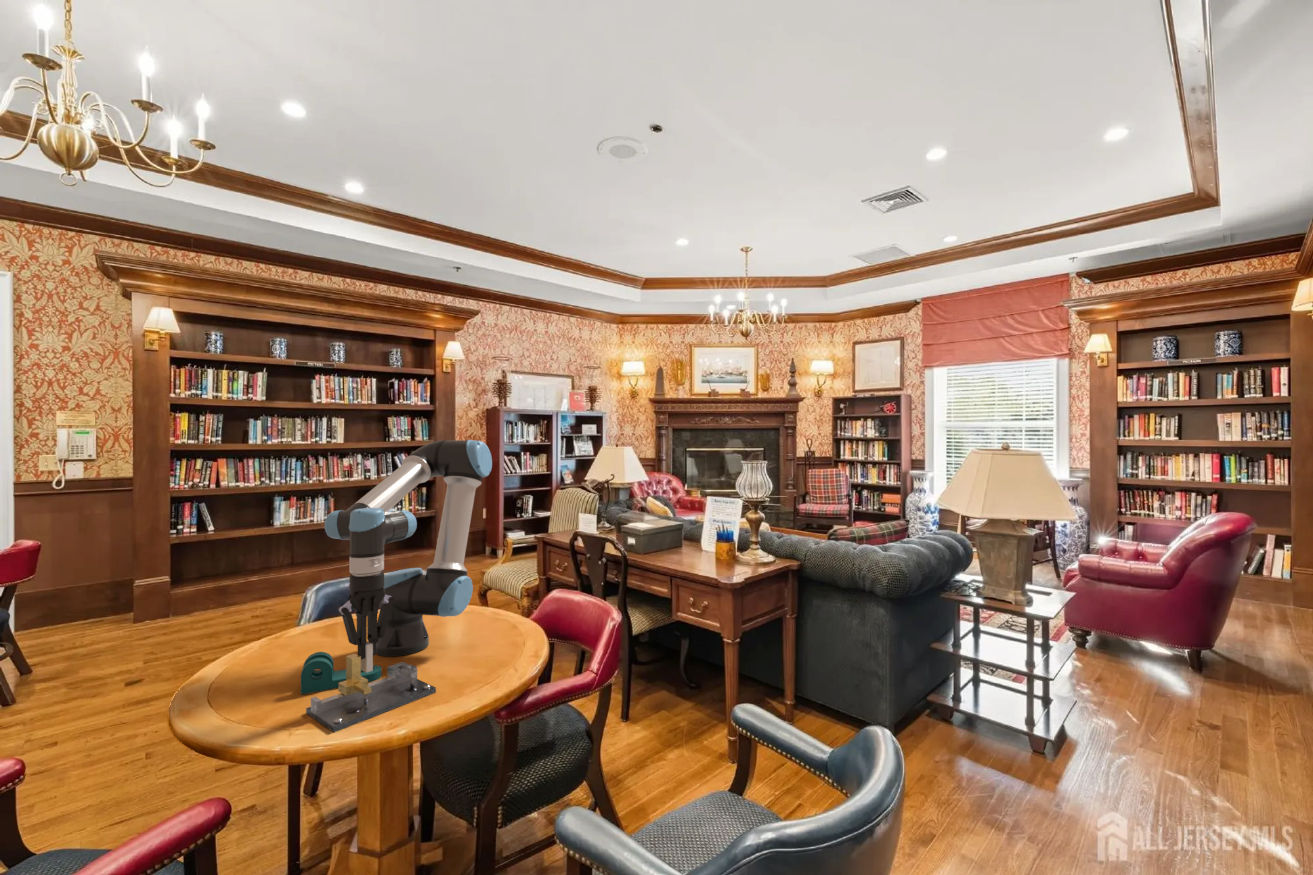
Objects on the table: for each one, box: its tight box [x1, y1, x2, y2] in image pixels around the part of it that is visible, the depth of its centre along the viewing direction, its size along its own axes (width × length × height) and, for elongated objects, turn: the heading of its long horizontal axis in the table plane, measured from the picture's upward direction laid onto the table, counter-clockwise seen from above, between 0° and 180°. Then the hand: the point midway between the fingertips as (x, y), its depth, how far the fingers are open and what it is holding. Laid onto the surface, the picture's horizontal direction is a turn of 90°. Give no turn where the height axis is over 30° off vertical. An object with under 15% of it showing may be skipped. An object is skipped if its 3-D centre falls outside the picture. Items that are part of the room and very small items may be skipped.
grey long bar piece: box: [310, 661, 418, 715], centre depth 136 cm, size 9×24×4 cm, turn 143°
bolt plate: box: [305, 678, 437, 733], centre depth 136 cm, size 14×24×2 cm, turn 143°
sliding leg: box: [338, 653, 371, 705], centre depth 134 cm, size 9×5×10 cm, turn 53°
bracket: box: [300, 651, 382, 695], centre depth 147 cm, size 18×7×8 cm, turn 117°
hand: (366, 670), depth 138 cm, fingers closed
